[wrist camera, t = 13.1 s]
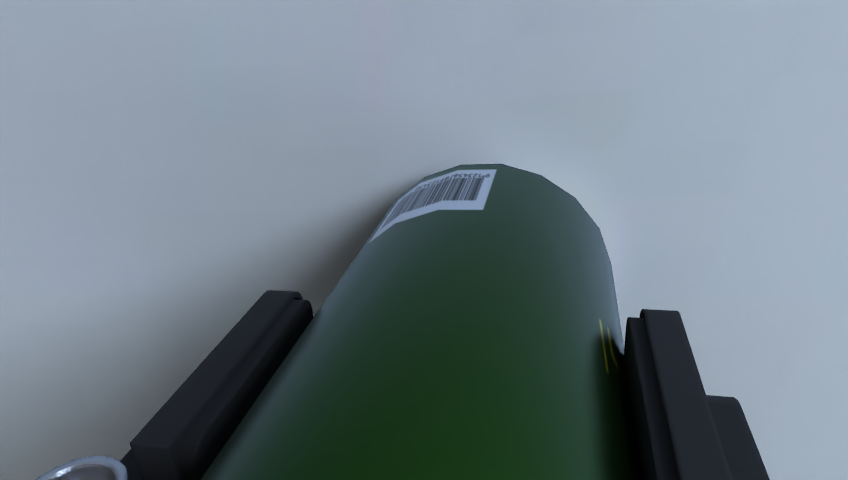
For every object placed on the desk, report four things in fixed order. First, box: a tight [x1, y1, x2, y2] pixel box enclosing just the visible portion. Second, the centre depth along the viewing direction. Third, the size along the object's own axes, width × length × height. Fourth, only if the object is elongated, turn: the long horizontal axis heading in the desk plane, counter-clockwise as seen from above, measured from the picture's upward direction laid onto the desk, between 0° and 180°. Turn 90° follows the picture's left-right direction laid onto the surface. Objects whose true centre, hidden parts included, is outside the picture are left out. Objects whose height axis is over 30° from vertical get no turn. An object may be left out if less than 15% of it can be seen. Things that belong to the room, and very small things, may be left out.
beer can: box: [201, 164, 642, 480], centre depth 9 cm, size 5×5×12 cm
